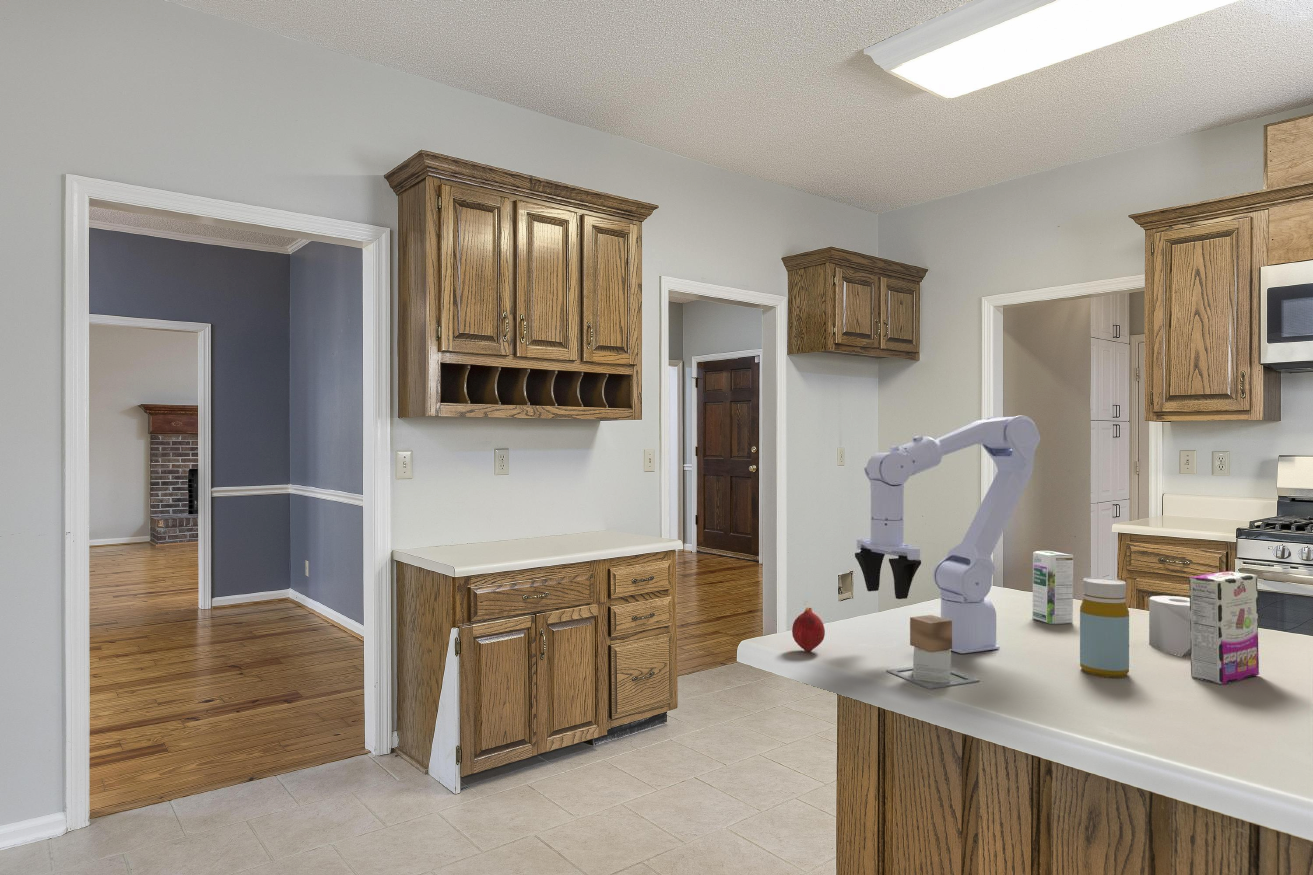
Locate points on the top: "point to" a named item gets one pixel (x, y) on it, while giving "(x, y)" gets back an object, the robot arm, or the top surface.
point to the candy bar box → (1224, 627)
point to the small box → (932, 665)
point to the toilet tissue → (1170, 624)
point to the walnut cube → (931, 633)
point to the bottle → (1104, 628)
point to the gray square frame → (969, 680)
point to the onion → (808, 630)
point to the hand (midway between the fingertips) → (886, 594)
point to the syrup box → (1052, 587)
